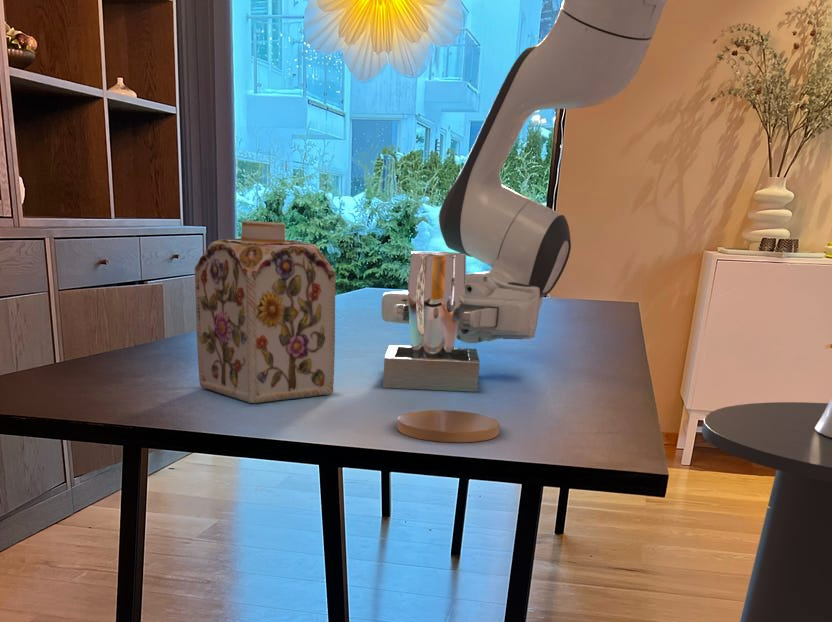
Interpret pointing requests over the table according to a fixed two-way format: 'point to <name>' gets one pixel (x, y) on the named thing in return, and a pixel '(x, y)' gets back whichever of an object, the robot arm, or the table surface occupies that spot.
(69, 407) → the table surface
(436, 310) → the beer glass
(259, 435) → the table surface
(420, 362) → the box
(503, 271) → the robot arm
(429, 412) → the disc
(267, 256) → the decorative jar
